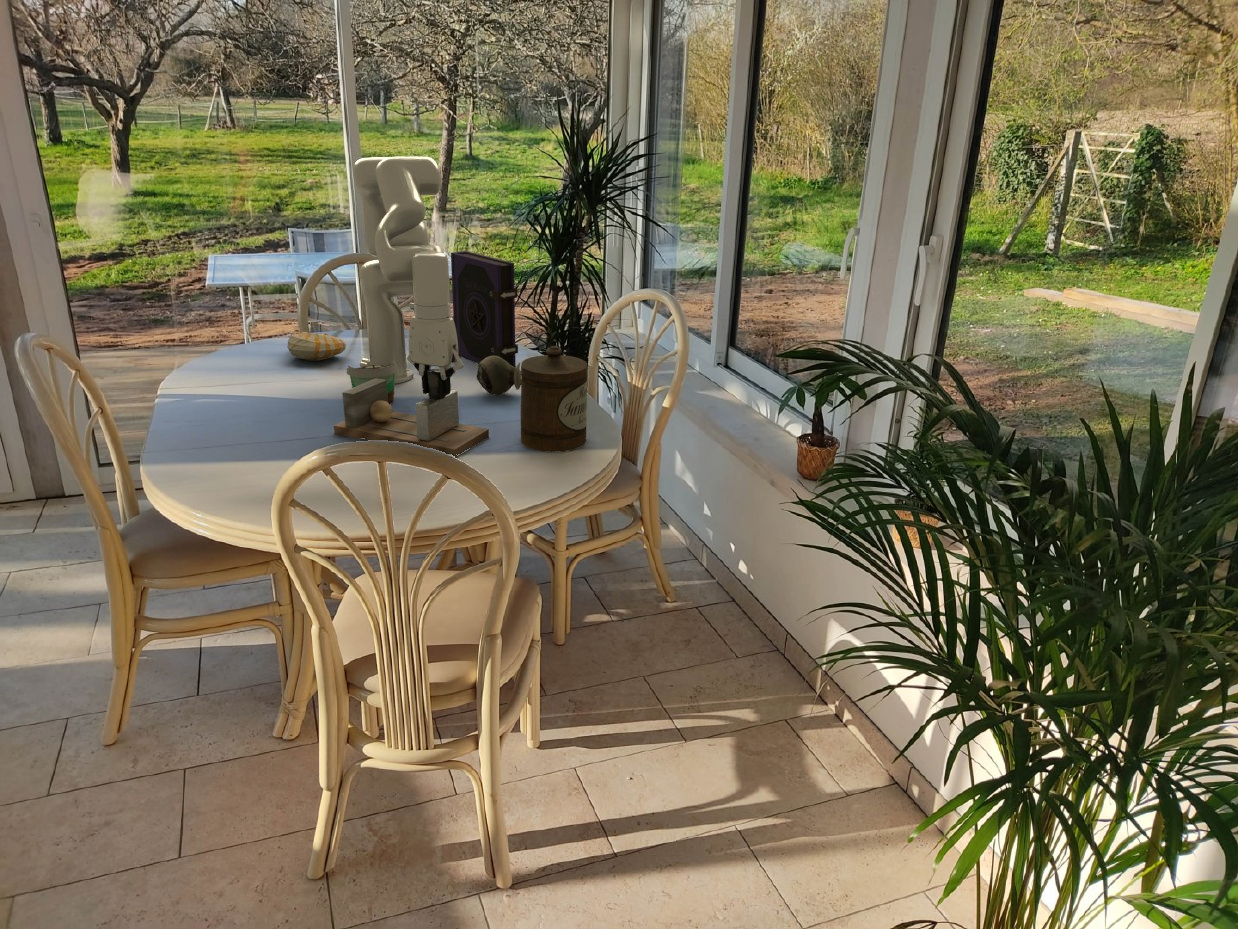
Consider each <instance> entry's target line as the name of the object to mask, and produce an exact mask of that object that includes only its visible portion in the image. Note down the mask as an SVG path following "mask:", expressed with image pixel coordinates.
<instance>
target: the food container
mask: <svg viewBox="0 0 1238 929" xmlns="http://www.w3.org/2000/svg"><path fill="white" fill-rule="evenodd" d="M396 372H397V366H396V363H395V361H394V364H389V365H369V366H365V367H353V366H350V365H349V364H348V366H347V368H346V374H347V375H348V376H349V378H350V383H351V388H354V387H356V386H358V385H361V384H363V383H366V382H368V381H370V380H373V379H375V378H378V379H384V380H387V393H388V403H389V404H390V405H391V404H393V403H394V398H395V383H394V377H395V373H396Z"/></svg>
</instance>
